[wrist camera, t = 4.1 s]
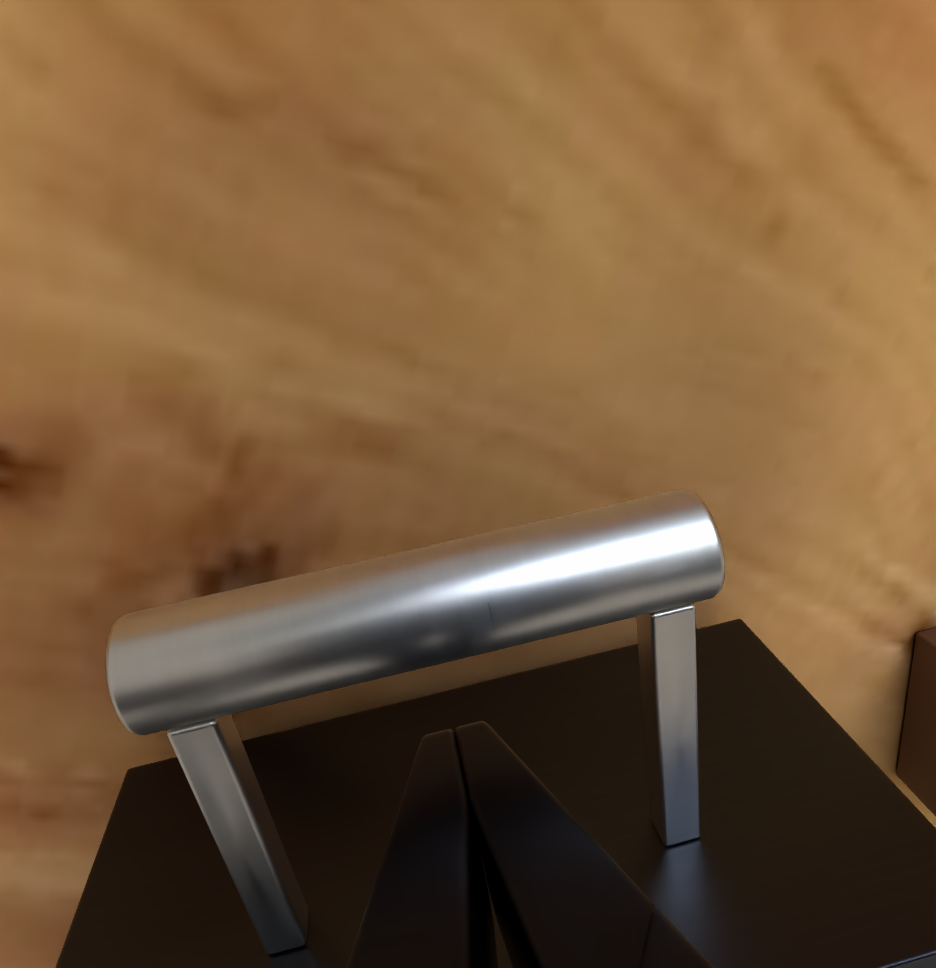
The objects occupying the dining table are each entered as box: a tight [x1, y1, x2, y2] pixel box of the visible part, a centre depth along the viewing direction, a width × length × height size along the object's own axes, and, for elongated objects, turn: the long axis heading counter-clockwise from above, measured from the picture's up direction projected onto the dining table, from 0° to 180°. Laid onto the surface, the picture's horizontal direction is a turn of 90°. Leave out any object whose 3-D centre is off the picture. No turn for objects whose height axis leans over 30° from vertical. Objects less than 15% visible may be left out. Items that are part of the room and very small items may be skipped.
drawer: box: [56, 489, 936, 968], centre depth 13 cm, size 18×13×7 cm
